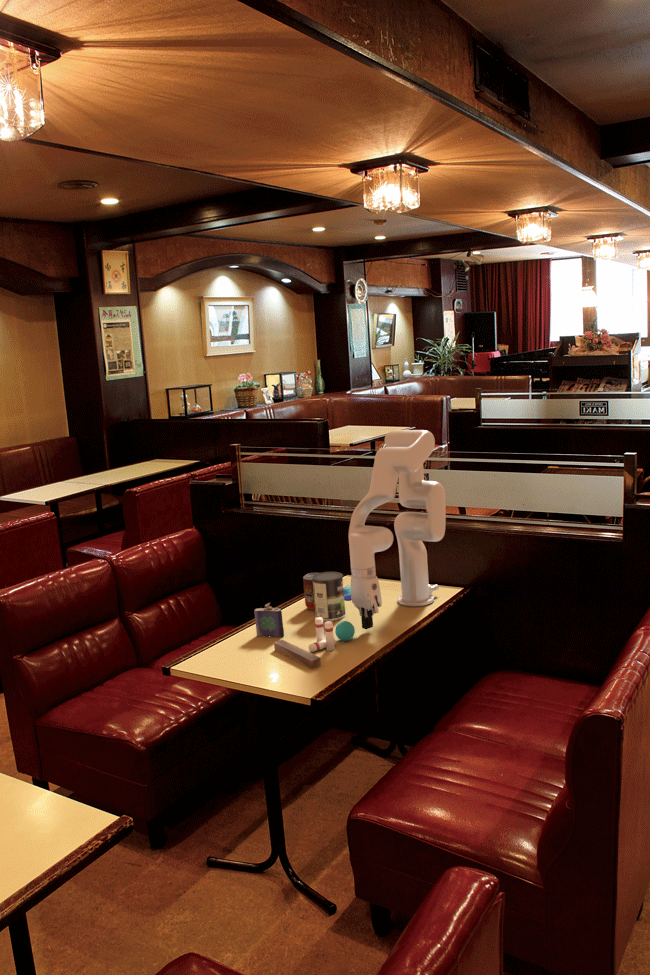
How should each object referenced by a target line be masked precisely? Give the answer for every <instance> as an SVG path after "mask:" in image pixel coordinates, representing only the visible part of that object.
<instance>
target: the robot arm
mask: <svg viewBox="0 0 650 975" xmlns="http://www.w3.org/2000/svg"><path fill="white" fill-rule="evenodd" d="M435 443H436V440H435V437H434V434H433V433H432V432H431V431H429V430H426V429H425V430H424V429H396V430H391V431H388V432H387V433H386V434H385V436H384V444H385V446H384V447H381V448H380V449H378V450H377V452H376V454H375V457H374V461H373V462H374V463H373V466H372V467H373V468H372V473H371V479H370V486H369V490H368V491H367V492H368V493H367V494H366V495H365V496H364V497H363V498H362V499H361V500H360V501H359V503H358V504H357V505H356V507H355V508H354V510H353V512H352V514H351V518H350V523H349V527H348V544H349V556H350V557H349V559H350V572H351V577H350V585H351V599H352V600H351V603H352V604H353V606H354V607H355V608H356V609H358V610H357V611H359V616H360V619H361V628H362V629H364V630H369V629H372V628H373V627H374V623H373V622H374V621H373V619H374V618H373V616H374V615H375V614H379V608H380V607H382V606H383V605H382V604H383V602H382V593H381V586H380V582H379V579H378V576H377V574H376V573H377V572H376V571H377V570H376V560H375V554H376V553H378V552H384V551H386V550H388V549H389V548H390V547H392V545H393V542H394V534H393V532H392V531H391V529H389V528H387V527H386V526H385V527H384V526H377V525H376V526H375V525H365V523H366V520H367V518H368V516H369V514H370V513H371V512H372V511H373V510H374V509H376V508H378V507H379V506H382V505H384V504H386V503H389V502H390V501H392V500H394V499H395V498H396V493H397V487H398V500H399V503H400V505H401V506H402V507H405V508H409V509H419V510H420V509H422V510H426V511H427V512H421V511H420V512H417V511H403V512H401V513H399V514H398V515H397V516H396V517H395V519H394V524H393V527H394V533H395V536H396V540H397V546H398V554H399V555H398V557H399V571H400V572H399V573H400V587H401V594H400V595H399V596H398V597H397V602H398V604H400V605H401V606H404V607H423V606H427V605H430V604H433V602H434V601H435V597H434V595H433V592H435V591H438V590H439V589H440V587H439V585H438V584H434V585H430V584H429V583H430V582H429V569H428V568H429V566H428V551H427V549H426V546H425V544H424V542H433V543H435V542H440V541H442V539H443V538H444V537H445V534H446V533H445V532H446V521H447V520H446V519H447V518H446V517H447V516H446V515H447V514H446V506H447V505H446V501H447V500H446V491H445V488H444V486H443V484H441V483H440V482H439V481H435V480H425V473H424V471H425V470H424V468H425V467H424V463H425V462H426V461H427V459H428V458H429V457H431V456H430V455H431V454H432V453H433V451H434V449H435V446H436V445H435Z"/></svg>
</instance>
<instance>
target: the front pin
mask: <svg viewBox="0 0 650 975" xmlns="http://www.w3.org/2000/svg"><path fill="white" fill-rule="evenodd" d="M324 639H325V640H322V641H319V642H317V641H315V642H312V643H310V644H309V645H308V650H309V651H308V652H310V653H312V654H313V653H314V652H319V651H320V650H323V649H327V646H326V638H324ZM336 644H337V640H336V637H334V646H335V645H336Z"/></svg>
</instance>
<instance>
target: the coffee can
mask: <svg viewBox="0 0 650 975" xmlns="http://www.w3.org/2000/svg"><path fill="white" fill-rule="evenodd" d="M317 573H318V574H316V575H314V576H312V580H313V589H314V600H315V611H314V612H315V618H318V617H321V618H323V622H327V621H331V622H333V621H334V620H335V621H339V620H342V619H343V617H344V618H345V617H346V616H345V615H346V603H345V600H344V590H343V589H344V580H343V577H344V574H343V573H341V572H337V571H323V572H317ZM341 618H342V619H341ZM338 619H339V620H338Z"/></svg>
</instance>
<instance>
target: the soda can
mask: <svg viewBox="0 0 650 975" xmlns="http://www.w3.org/2000/svg"><path fill="white" fill-rule="evenodd" d="M318 573H319V572H308V573H307V574H305V575H304V576H303V577H302V581H303V592H304V605H305V607H306V608H307V610H308V611H309V610H311V611H310V612H316V611H315V600H314V589H313V580H312V576H314V575H316V574H318Z"/></svg>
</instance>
